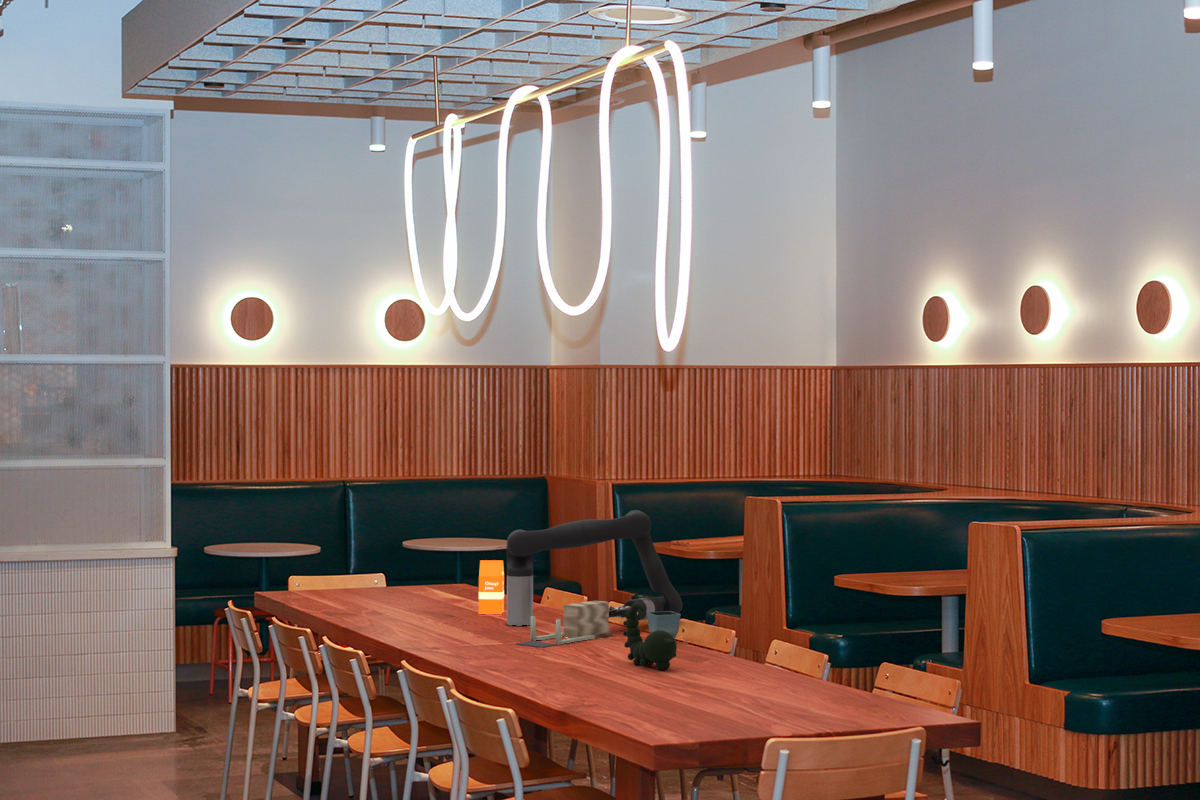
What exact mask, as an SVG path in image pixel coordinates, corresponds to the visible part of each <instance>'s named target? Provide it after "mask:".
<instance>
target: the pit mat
mask: <svg viewBox="0 0 1200 800" xmlns="http://www.w3.org/2000/svg"><path fill="white" fill-rule="evenodd" d="M517 644H518V646H524V645H526V646H525V647H531V646H534V648H539V647H543V648H547V647H546V646H549V647H553V646H552V645H555V646H557V645H556V643H551V642H550V643H549V642H542V641H531V640H528V641H522V642H516V643H515V645H517Z"/></svg>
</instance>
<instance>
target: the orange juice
mask: <svg viewBox="0 0 1200 800" xmlns="http://www.w3.org/2000/svg"><path fill="white" fill-rule="evenodd" d="M504 569H505V567H504V560H496V559H493V560H492V559H491V560H487V559H485V560H483V559H482V560H479V573H478V574H479V575H478V615H479V614H502V613H503V612H504V613H505V570H504ZM504 613H503V614H504Z"/></svg>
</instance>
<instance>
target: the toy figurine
mask: <svg viewBox="0 0 1200 800" xmlns="http://www.w3.org/2000/svg"><path fill="white" fill-rule="evenodd" d="M639 610H641V611H642V612H643V611H644V608H643V606H642V604H640V603H634V604H633V605H632V606H631V609H630V610H628V611H627V612H626V613H624V616H625V617H626V618H627V619H626V618H625V619H626V620H624V621H623V623H622V624H623V626H624V627H626V631H623V633H622V635H623V636H624V637H627V640H626V641H625V642H624V648H625V649H626V648H627V649H628V648H629V653H628V654H627V659H628V660H629V661H632V662H633V665H635V666H639V665H641V666H643V667H647V666H648V665H653V664H655V668H656V669H657V670H659V671H666V670H668V669H669V668H670V667H671V660H672V659H674V658H676V657H677V648H678V646H677V643H676V642H677V641H676V638H675V639H674V638H673V636H672V635H671V634H670V633H668V632H666V631H663V630H657V631H654V632H652V633H651V632H650V633H649V634H648V635H647V636H646V638H645V639H644V641H643V638H642V636H641V629H640V627H639V625H640V622H639V621H640V620H639V621H638V619H637V612H638V611H639Z"/></svg>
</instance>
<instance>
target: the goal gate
mask: <svg viewBox="0 0 1200 800" xmlns="http://www.w3.org/2000/svg"><path fill="white" fill-rule="evenodd" d="M536 621H537V617H536V616H535V615H533V616H531V625H530V641H536V640H542V641H546V640H545V639H548V640H551V639H550V638H554V639H555V644H557V645H556V646H560V645H559V644H561V645H562V644H564V643H569V642H574V641H581V640H587V639H593V638H595V635H588V636H582V637H576V638H570V639H566V638H564V639H562V637H561V636H564V631H563V632H562V631H561V630H562V626H561V625H562V623H561V621H562V619H559V618H558V619H555V633H551V634H544V635H537V636H536V633H537V631H536V626H537V625H536ZM555 637H556V638H555ZM593 640H594V639H593ZM587 641H588V640H587ZM536 642H537V641H536ZM581 642H582V641H581ZM564 645H565V644H564Z"/></svg>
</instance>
